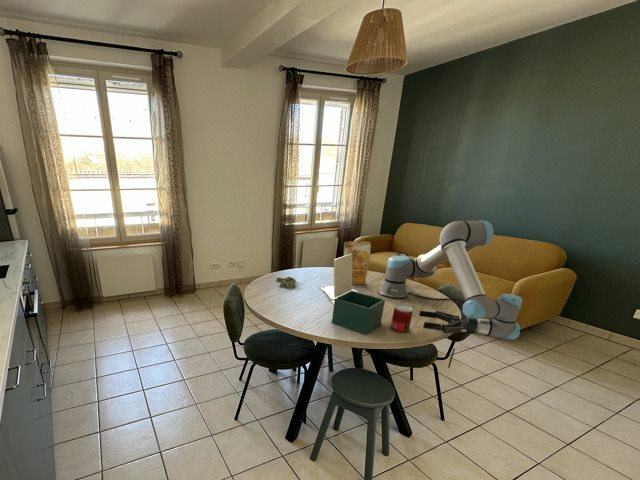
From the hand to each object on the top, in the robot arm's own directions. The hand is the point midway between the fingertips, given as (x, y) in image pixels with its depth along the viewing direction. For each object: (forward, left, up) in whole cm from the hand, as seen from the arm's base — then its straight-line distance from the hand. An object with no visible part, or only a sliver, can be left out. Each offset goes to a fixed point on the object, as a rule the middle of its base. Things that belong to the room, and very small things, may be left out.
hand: (421, 318), depth 151 cm
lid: (+31, -19, +16) cm, 40 cm away
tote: (+25, -12, -7) cm, 29 cm away
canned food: (+7, -4, -7) cm, 11 cm away
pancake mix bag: (0, -72, -7) cm, 72 cm away
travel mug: (-30, -69, -7) cm, 75 cm away
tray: (+16, -50, -7) cm, 53 cm away
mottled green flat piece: (+45, -74, -7) cm, 87 cm away
